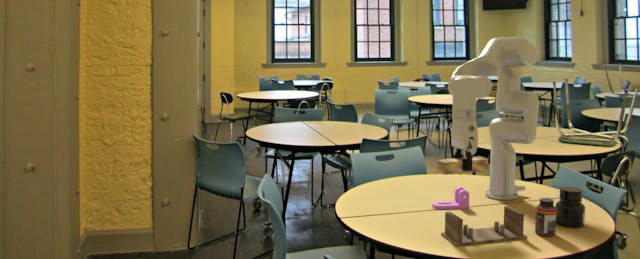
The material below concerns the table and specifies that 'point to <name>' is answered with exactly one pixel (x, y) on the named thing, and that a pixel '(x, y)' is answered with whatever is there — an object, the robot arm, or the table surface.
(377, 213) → the table surface
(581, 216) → the ink bottle
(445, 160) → the plank
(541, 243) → the table surface
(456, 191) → the bracket
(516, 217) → the holder
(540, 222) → the supplement bottle
